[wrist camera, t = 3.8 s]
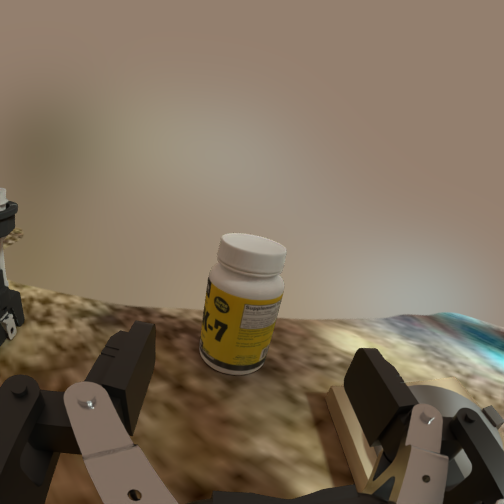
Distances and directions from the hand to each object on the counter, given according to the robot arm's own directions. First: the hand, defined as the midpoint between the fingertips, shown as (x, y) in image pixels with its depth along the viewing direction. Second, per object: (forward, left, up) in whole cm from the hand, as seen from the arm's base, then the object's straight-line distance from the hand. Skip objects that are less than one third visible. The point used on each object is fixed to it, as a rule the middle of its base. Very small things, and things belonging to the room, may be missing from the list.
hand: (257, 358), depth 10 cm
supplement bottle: (0, -8, -6) cm, 10 cm away
